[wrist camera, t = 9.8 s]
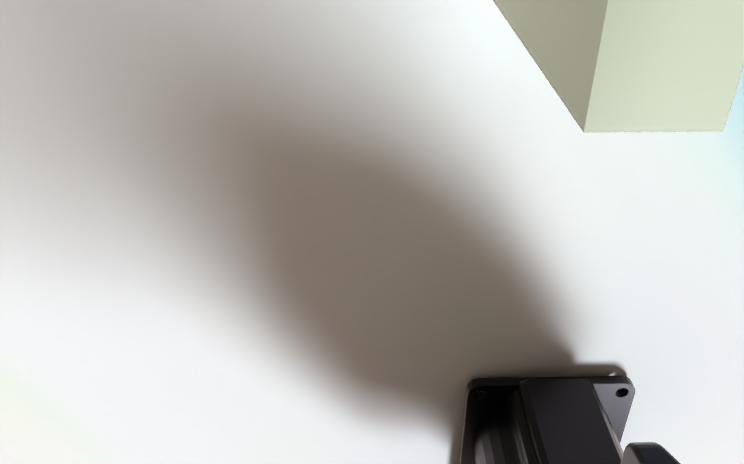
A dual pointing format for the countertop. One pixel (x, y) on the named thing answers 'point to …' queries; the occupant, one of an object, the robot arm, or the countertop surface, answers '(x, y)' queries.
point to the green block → (636, 59)
